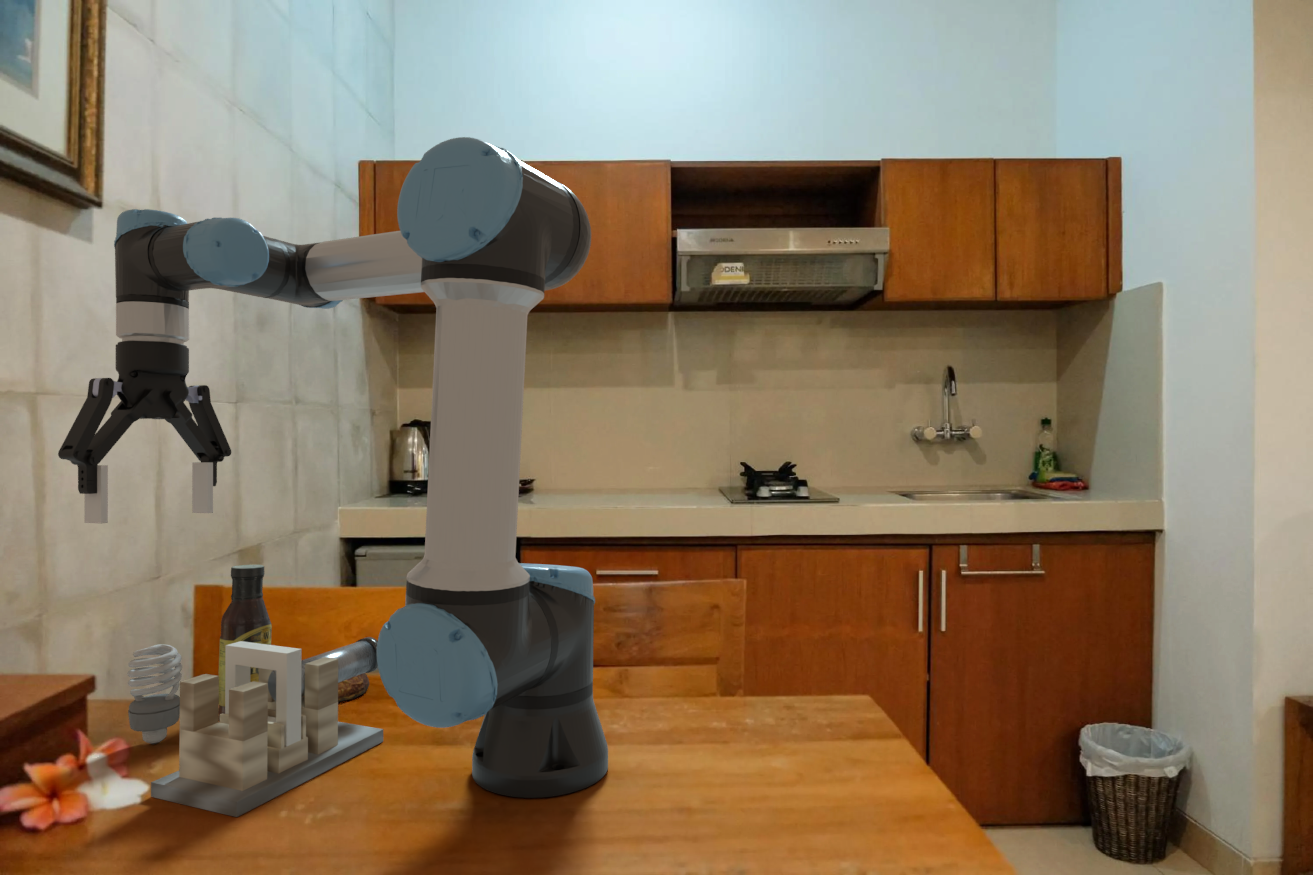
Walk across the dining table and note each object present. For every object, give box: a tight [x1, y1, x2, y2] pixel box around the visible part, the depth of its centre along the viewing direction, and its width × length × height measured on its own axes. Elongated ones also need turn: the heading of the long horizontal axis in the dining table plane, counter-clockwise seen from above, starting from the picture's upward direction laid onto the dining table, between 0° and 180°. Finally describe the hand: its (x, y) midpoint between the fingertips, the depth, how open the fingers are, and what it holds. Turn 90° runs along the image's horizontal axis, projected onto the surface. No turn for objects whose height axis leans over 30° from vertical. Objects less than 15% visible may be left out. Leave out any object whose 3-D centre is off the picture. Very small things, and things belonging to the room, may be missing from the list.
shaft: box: [268, 636, 378, 701], centre depth 97 cm, size 14×4×4 cm, turn 159°
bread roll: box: [303, 673, 370, 703], centre depth 115 cm, size 11×11×5 cm
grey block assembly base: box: [150, 657, 384, 818], centre depth 89 cm, size 12×21×12 cm, turn 159°
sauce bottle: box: [218, 564, 273, 717], centre depth 107 cm, size 6×6×20 cm
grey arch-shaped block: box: [225, 641, 303, 747], centre depth 88 cm, size 9×2×10 cm, turn 69°
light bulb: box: [126, 643, 183, 745], centre depth 96 cm, size 6×6×12 cm
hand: (152, 517), depth 96 cm, fingers open, 13 cm apart
